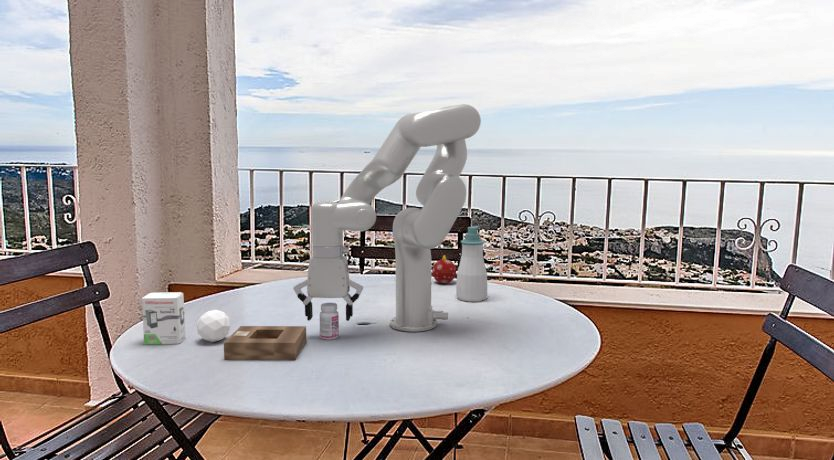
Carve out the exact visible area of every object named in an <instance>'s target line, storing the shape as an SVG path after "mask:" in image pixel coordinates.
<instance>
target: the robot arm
mask: <svg viewBox="0 0 834 460" xmlns="http://www.w3.org/2000/svg"><path fill="white" fill-rule="evenodd" d="M481 118H482V117H481V115H480V113H479V111H478V110H477V109H476V108H475V107H474V106H472V105H470V104H456V105H448V106H443V107H442V108H439V109H435V110H428V111H422V112H415V113H414V112H413V113H409V114H405V115H403V116H401V117H400V118H399V120H397V122H396V123H395V125H394V126H393V128H392V129H391V131H390V133H389V134H388V135H387V137H386V139H385V140H384V142H383V143H382V144H381V146H380V147H379V149H378V150H377V151H376V154H375V155H374V157H373V158H372V160H371V161H369V162H368V164H367V165H366V166H364V168H363V169H362V170H361V171H360V172H359V173H358V174H357V175H356V176H355V178H354V179H352V181H351V182H350V184H349V185H348V187H347V188H346V189H345V191H344V192H343V194H342V196H341V197H340V198H339V201H338V202H336V201H317V202H314V203H313V204H312V206H311V208H310V209H311V211H310V213H311V248H312V249H311V250H312V253H311V254H312V255H311V256H310V258H309V260H308V269H307V279H305V280H304V281H302V282H300V283H298V284H296V285H294V286H293V291H294V293H295V294H296V296H297V299H299V300H300V301H301V302H302V304H303V305H304V316H305V317H307V318H306V320H307V321H311V320H312V318H313V316H314V314H313V302H312V299H316V298H319V299H322V298H323V299H340V298H341V299H343V300H344V301H345V303H346V304H345V320H346V321H347V322H349V321H350V320H351V317H353V315H354V314H353V313H354V312H353V311H354V310H353V309H354V308H353V307H354V305H353V304H354V303H355V302H356V301H357V300H358V299H359V297H360V296H361V295H362V292H363V290H364V286H363V285H362V284H360V283H357V282H356V281H354V280H352V279H350V270H349V264H348V263H349V262H348V258H347V256H345V254H349V252H350V247H346V246H345V245H344V235H343V233H344V232H343V231H348V232H364V231H365V232H366V231H368V230H369V229H371V228H372V227H373V226H374V225H375V224H376V220H377V213H376V210H375V208H374V207H373V205H371V202H372V201H373V200H374V198H375V197H377V195H378V194H379V193H380V192H381V191H382V190H384V189H385V188H387V187H389V186H391V185H392V184H394V183H396V182H397V181H398V180H401V178H402V177H403V175H404V174H405V172H406V170H407V169H408V167H409V166H410V164H411V163H412V161H413V160H414V158H415V156H416V155H417V154H418V152H419V151H420V149H421V148H424V147H425V148H427V147H435V146H436V150H435V153H434V156H433V158H432V159H431V162H430V163H429V164H428V166H427V168H426V170H425V172H424V173H423V174H422V178H421V179H420V181H419V182H418V185H417V186H416V190H415V196H416V199H417V201H418V202H419V203H420V204H421V205H422V208H417V207H406V208H404V209H401V210H400V211H399V212H398V213H397V214H396V215H395V217H394V219H393V223H392V235H393V236H392V237H393V243H394V251H395V316H394V317H392V318H391V319H390V320H389V324H390V327H391V328H393V329H395V330H397V331H401V332H414V333H415V332H425V331H430V330H432V329H435V328H436V327H437V324H438V321H437V320H442V321H444V320H445V321H448V320H449V312H444V311H443V310H435V309H433V305H432V268H433V267H432V265H433V264H432V252H431V250H433V249H435V248H437V247H439V246H440V245H441V244H442V243H443V242H444V240H445V239H446V238H447V236H448V234H449V232H450V231H451V229H452V227H453V225H454V223H455V222H456V220H457V218H458V217H459V215H460V213H461V211H462V209H463V207H464V205H465V202H466V198H467V188H466V184H465V182H464V180H462V178H461V175H462V172H463V170H464V168H465V165H466V162H467V159H468V150H467V149H468V148H467V143H466V140H467V139H470V138H472V137H473V136H474V135H476V134H477V133H478V132H479V129H480V127H481V123H482V120H481ZM305 287H306V290H307V291H306V292H307V295H305V293H304V292H303V291H302V289H303V288H305ZM350 288H352V289H354V290H355V293H354V294H353V295H351V293H349V292H350Z"/></svg>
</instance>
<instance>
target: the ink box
mask: <svg viewBox="0 0 834 460" xmlns="http://www.w3.org/2000/svg"><path fill="white" fill-rule="evenodd" d="M141 307H142V310H141V311H142V326H143V345H179V344H181V342H183V341H184V340H185V339H186V318H185V300H184V292H181V291H179V292H174V291H173V292H171V291H170V292H150V293H148V294H146V295H145V296H143V297H141Z"/></svg>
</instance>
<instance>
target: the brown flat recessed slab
mask: <svg viewBox="0 0 834 460" xmlns="http://www.w3.org/2000/svg"><path fill="white" fill-rule="evenodd" d="M306 344H307V326H305V325H302V326H301V325H299V326H298V325H297V326H295V325H293V326H292V325H290V326H289V325H279V326H278V325H241V326H238V328H237V329H236V330H235V331H234V332H233V333H231V335H230V336H229V337H228V338H226V340H224V341H223V359H224V360H225V361H226V360H230V361H235V360H237V361H241V360H242V361H246V360H247V361H251V360H252V361H296V360H297V358H298V356H299V355H300V353H301V352H302V350H303V349H304V347H305V345H306Z"/></svg>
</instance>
